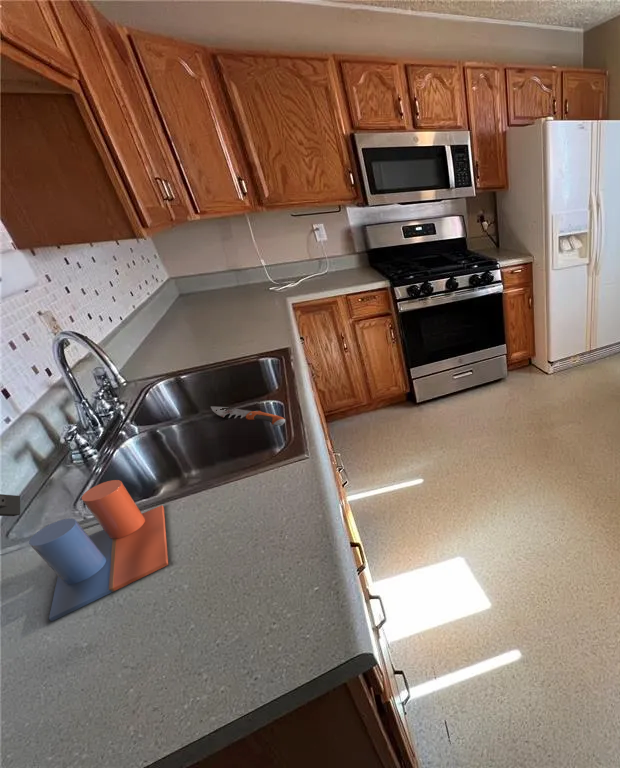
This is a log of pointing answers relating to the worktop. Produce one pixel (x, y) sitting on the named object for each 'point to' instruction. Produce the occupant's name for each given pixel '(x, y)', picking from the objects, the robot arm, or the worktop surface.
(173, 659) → the worktop surface
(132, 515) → the orange canister
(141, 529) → the sorting board
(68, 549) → the blue canister
